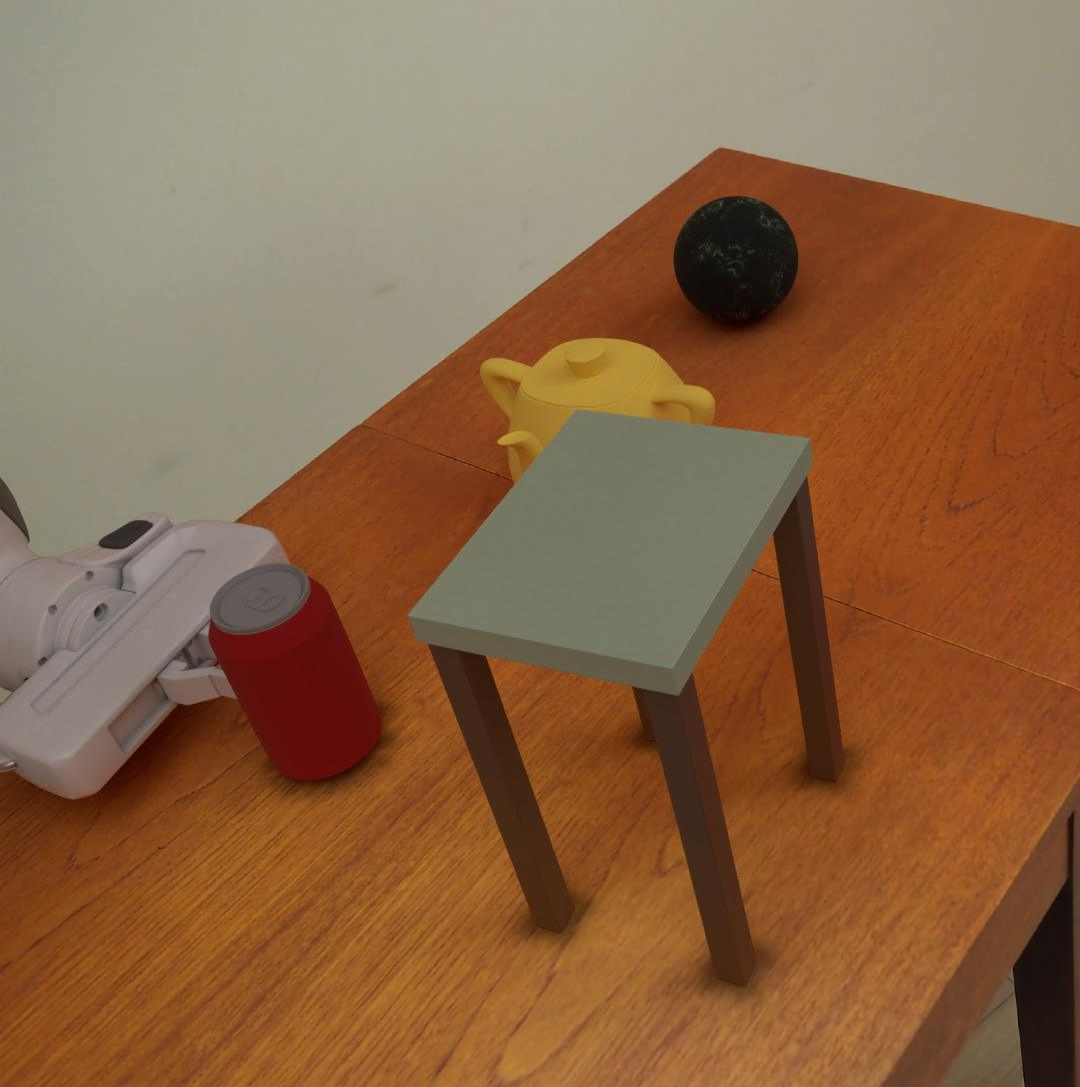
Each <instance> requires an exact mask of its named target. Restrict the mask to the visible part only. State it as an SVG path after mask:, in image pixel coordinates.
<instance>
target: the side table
mask: <svg viewBox="0 0 1080 1087" xmlns="http://www.w3.org/2000/svg"><path fill="white" fill-rule="evenodd" d="M813 466H814V459H813V449H812V442H811V438H810V437H806V436H798V435H789V434H781V433H773V432H766V431H765V432H764V431H757V430H751V429H750V430H749V429H740V428H733V427H725V426H717V425H711V426H709V425H701V424H693V423H685V422H677V421H669V420H661V419H653V418H644V417H636V416H628V415H620V414H612V413H604V412H596V411H588V410H580V409H576V410H575V412H574V413H573V414H572V415H571V416H570V418H569V419H568V420H567V421H566V422H565V424H564V425H563V426H562V427H561V429H560V430H559V431H558V432H557V433H556V435H555V436H554V437H553V438H552V440H551V441H550V442H549V443H548V444H547V446H546V447H545V448H544V449H543V450H542V452H541V453H540V454H539V455H538V457H537V458H536V459H535V460H534V461H533V463H532V464H531V465H530V466H529V468H528V469H527V470H526V471H525V472H524V474H523V475H522V476H521V477H520V479H519V480H518V481H517V482H516V483H515V485H514V484H513V486H512V487H511V488H510V490H509V491H508V492H506V494H505V495H504V496H503V498H502V499H501V500H500V501H499V503H498V504H497V505H496V506H495V508H494V509H493V510H492V511H491V513H490V514H489V515H488V516H487V517H486V518H485V520H484V521H483V522H482V524H481V525H480V526H479V527H478V528H477V530H476V531H475V532H474V533H473V534H472V536H470V538H469V539H468V541H467V542H466V543H464V545H463V546H462V548H461V549H460V550H459V551H458V553H457V554H456V555H455V556H454V557H453V559H451V561H450V562H449V564H448V565H447V566H446V567H445V568H444V569H443V571H442V572H441V573H440V575H438V577H437V578H436V580H435V581H434V582H433V583H432V584H431V585H430V587H429V588H428V590H426V592H425V593H424V594H423V595H422V597H421V598H420V599H419V600H418V601H417V603H416V604H415V605H414V606H413V608H411V610H410V611H409V612H408V614H407V619H408V622H409V624H410V626H411V629H412V631H413V634H414V637H415V640H416V642H418V643H422V644H426V645H427V646H428V649H429V651H430V654H431V657H432V659H433V662H434V664H435V667H436V670H437V672H438V675H439V677H440V680H441V683H442V685H443V688H444V690H445V693H446V695H447V698H448V700H449V703H450V706H451V708H452V711H453V714H454V717H455V719H456V721H457V725H458V727H459V729H460V732H461V734H462V737H463V740H464V743H465V745H466V748H467V750H468V752H469V755H470V759H471V760H472V763H473V765H474V768H475V771H476V774H477V776H478V779H479V781H480V785H481V786H482V789H483V791H484V795H485V797H486V800H487V802H488V805H489V807H490V810H491V813H492V815H493V818H494V821H495V823H496V826H497V828H498V831H499V833H500V835H501V838H502V841H503V844H504V846H505V849H506V852H507V855H508V856H509V859H510V862H511V864H512V868H513V869H514V870H513V871H514V872H515V875H516V877H517V880H518V882H519V886H520V888H521V890H522V893H523V895H524V898H525V900H526V903H527V906H528V909H529V912H530V914H531V917H532V919H533V922H534V924H535V926H536V927H538V928H542V929H545V930H549V931H552V932H556V933H559V934H562V933H563V931H564V929H565V928H566V926H567V924H568V922H569V920H570V918H571V917H572V915H573V913H574V912H575V906H574V903H573V901H572V900H573V899H572V898H571V894H570V892H569V889H568V886H567V883H566V880H565V877H564V875H563V872H562V869H561V866H560V863H559V860H558V858H557V856H556V851H555V849H554V846H553V843H552V841H551V837H550V835H549V833H548V832H549V831H548V829H547V827H546V824H545V821H544V817H543V815H542V812H541V810H540V807H539V804H538V801H537V798H536V795H535V793H534V790H533V786H532V784H531V781H530V778H529V774H528V772H527V769H526V766H525V763H524V761H523V757H522V755H521V752H520V749H519V747H518V743H517V740H516V737H515V735H514V732H513V729H512V726H511V724H510V721H509V719H508V715H507V712H506V709H505V706H504V703H503V701H502V698H501V695H500V693H499V690H498V686H497V683H496V681H495V678H494V675H493V672H492V669H491V667H490V664H489V660H488V658H487V657H490V658H494V659H499V660H504V661H508V662H514V663H518V664H522V665H528V666H531V667H532V666H533V667H536V668H537V667H538V668H542V669H545V670H546V669H547V670H552V671H556V672H557V671H558V672H561V673H566V674H571V675H576V676H581V677H585V678H590V679H595V680H599V681H605V682H609V683H613V684H619V685H622V686H623V685H624V686H628V687H631V689H632V693H633V697H634V700H635V703H636V708H637V712H638V715H639V719H640V723H641V727H642V731H643V735H644V738H645V740H647V741H652V742H655V743H656V748H657V750H658V756H659V758H660V763H661V767H662V771H663V775H664V778H665V779H664V780H665V782H666V786H667V787H666V788H667V791H668V794H669V799H670V801H671V802H670V803H671V806H672V809H673V813H674V817H675V818H674V819H675V821H676V825H677V830H678V834H679V837H680V841H681V845H682V850H683V853H684V858H685V861H686V864H687V870H688V873H689V877H690V880H691V884H692V888H693V891H694V895H695V899H696V903H697V908H698V911H699V915H700V919H701V923H702V926H703V930H704V935H705V939H706V944H707V947H708V951H709V955H710V957H711V963H712V966H713V970H714V974H715V978H716V979H717V980H719V981H723V982H727V983H730V984H734V985H736V986H740V987H743V988H745V987H746V985H747V983H748V981H749V979H750V976H751V974H752V972H753V970H754V967H755V966H756V964H757V957H756V953H755V950H754V944H753V940H752V936H751V931H750V926H749V922H748V918H747V913H746V907H745V904H744V899H743V895H742V890H741V885H740V881H739V876H738V873H737V868H736V864H735V859H734V854H733V850H732V845H731V840H730V836H729V831H728V827H727V823H726V818H725V814H724V809H723V804H722V800H721V794H720V791H719V787H718V786H719V785H718V782H717V778H716V774H715V768H714V763H713V760H712V754H711V750H710V746H709V742H708V736H707V732H706V727H705V723H704V719H703V718H704V717H703V713H702V710H701V705H700V700H699V696H698V691H697V687H696V686H697V685H696V682H695V677H694V673H693V672H694V670H695V668H696V667H697V665H698V664H699V662H700V659H701V658H702V656H703V655H704V653H705V651H706V649H707V648H708V646H709V644H710V643H711V641H712V640H713V637H714V635H716V632H717V631H718V629H719V627H720V626H721V624H722V622H723V621H724V619H725V617H726V615H727V614H728V612H729V610H730V608H731V606H732V605H733V603H734V602H735V600H736V598H737V596H738V595H739V593H740V591H741V589H742V587H743V586H744V584H745V583H746V581H747V579H748V578H749V576H750V574H751V572H752V570H753V569H754V567H755V566H756V564H757V562H758V560H759V558H760V557H761V555H762V553H763V552H764V550H765V548H766V546H767V545H768V543H769V541H770V540H771V538H773V545H774V550H775V556H776V557H775V558H776V563H777V570H778V576H779V583H780V589H781V596H782V602H783V609H784V616H785V621H786V628H787V634H788V635H787V636H788V641H789V648H790V653H791V660H792V666H793V672H794V679H795V686H796V693H797V698H798V705H799V711H800V717H801V726H802V731H803V738H804V745H805V750H806V751H805V752H806V756H807V763H808V769H809V776H810V777H811V778H816V779H821V780H824V781H829V782H833V783H834V782H835V783H836V782H837V781H838V779H839V776H840V775H841V772H842V770H843V768H844V764H845V762H846V761H845V754H844V746H843V738H842V730H841V723H840V716H839V709H838V708H839V707H838V700H837V692H836V684H835V676H834V669H833V662H832V654H831V647H830V646H831V645H830V639H829V631H828V623H827V614H826V609H825V600H824V593H823V585H822V577H821V569H820V563H819V554H818V548H817V538H816V533H815V524H814V523H815V522H814V516H813V509H812V501H811V494H810V485H809V478H808V474H809V473H810V471H811V470H812V468H813Z"/></svg>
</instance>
